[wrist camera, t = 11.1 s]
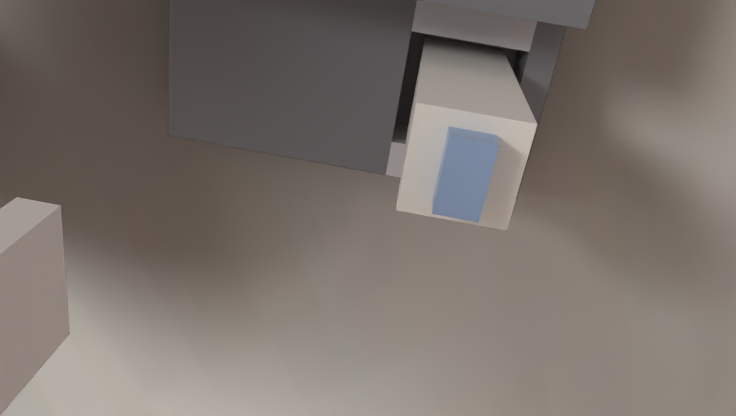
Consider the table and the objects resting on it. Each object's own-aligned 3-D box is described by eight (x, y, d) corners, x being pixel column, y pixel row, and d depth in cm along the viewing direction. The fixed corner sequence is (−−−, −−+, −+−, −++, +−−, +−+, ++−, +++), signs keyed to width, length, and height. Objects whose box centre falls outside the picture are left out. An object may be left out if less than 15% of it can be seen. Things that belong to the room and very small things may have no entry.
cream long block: (410, 112, 33) (393, 222, 21) (424, 36, 31) (415, 111, 19) (484, 126, 33) (509, 244, 21) (503, 50, 31) (541, 134, 19)
